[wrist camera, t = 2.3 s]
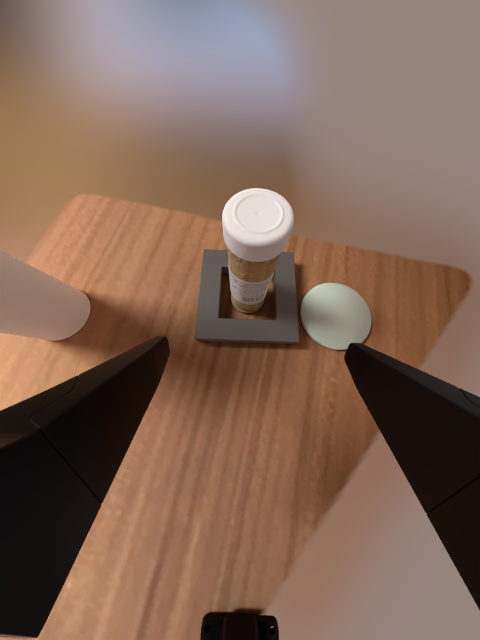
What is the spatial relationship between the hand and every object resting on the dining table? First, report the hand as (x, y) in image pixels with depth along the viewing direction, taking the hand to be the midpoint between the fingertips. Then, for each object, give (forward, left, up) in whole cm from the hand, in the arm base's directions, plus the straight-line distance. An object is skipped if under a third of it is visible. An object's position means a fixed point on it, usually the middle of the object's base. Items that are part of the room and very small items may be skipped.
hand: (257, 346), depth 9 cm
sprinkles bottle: (+8, 0, -13) cm, 16 cm away
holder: (+8, 0, -13) cm, 16 cm away
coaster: (+6, -12, -13) cm, 19 cm away
